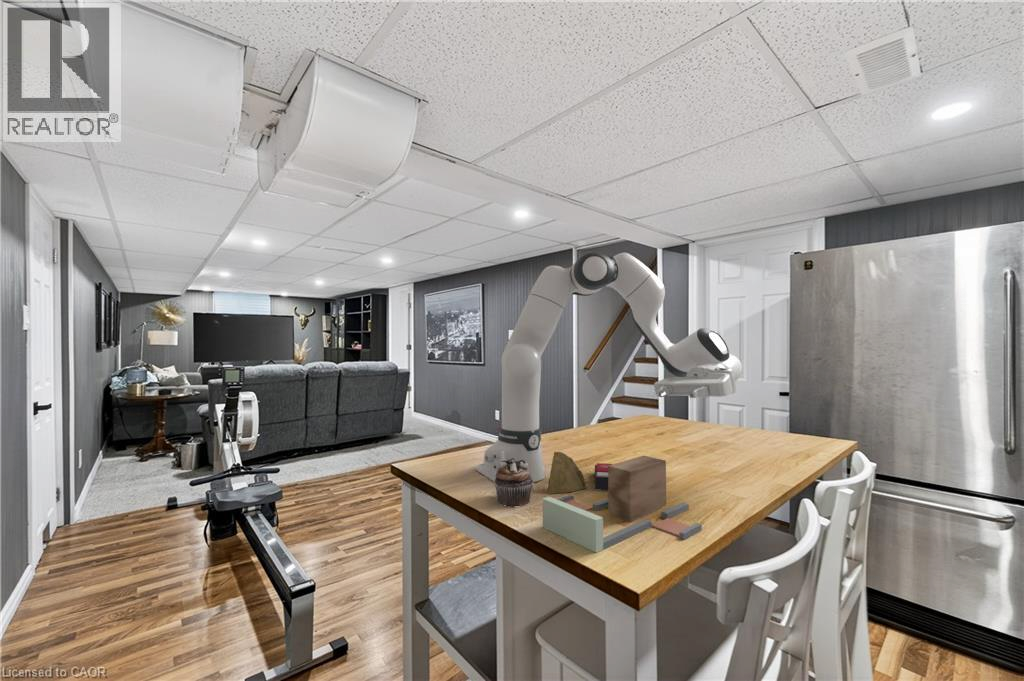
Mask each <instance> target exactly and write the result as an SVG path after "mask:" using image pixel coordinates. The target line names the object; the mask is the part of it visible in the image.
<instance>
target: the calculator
mask: <svg viewBox="0 0 1024 681" xmlns="http://www.w3.org/2000/svg"><path fill="white" fill-rule="evenodd" d="M609 465H613V463H605V462H604V463H603V462H602V463H599V462H597V463H596V464H594V482H595V483H594V489H595V490H596V489H601V490H600V491H608V466H609Z"/></svg>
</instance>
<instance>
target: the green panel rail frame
mask: <svg viewBox="0 0 1024 681" xmlns="http://www.w3.org/2000/svg"><path fill="white" fill-rule="evenodd" d="M541 501H542V528H544V529H546V530H548V531H550V532H552V533H554V534H556V535H558V536H560V537H562V538H564V539H567V540H569V541H570V542H573V543H575V544H577V545H578V546H581V547H583V548H584V549H587V550H589V551H591V552H594V553H595V554H596V553H599V552H601V551H603V550H605V549H609V548H610V547H612V546H614V545H616V544H618V543H620V542H622V541H625V540H626V539H629V538H630V537H633V536H635V535H637V534H640V533H642V532H643V531H645V530H648V529H650V528H654V529H657V530H660V531H663V532H665V533H668V534H670V535H673V536H676V537H678V538H679V539H680V540H683V539H685V540H686V539H688V538H690V537H691V536H693V535H696V534H697V533H699V532H701V531H702V530H703V527H702V526H703V525H702V523H699V522H696V523H694V524H691V525H689V524H687V523H683V522H681V521H678V520H675V519H672V518H674V517H675V515H676V516H678V515H680V514H682V513H684V512H685V511H688V510H690V509H689V507H690V505H689V503H687V502H684V501H683V502H680V503H678V504H676V505H673V506H671V507H668V508H666V509H665V510H662V511H661V512H660V516H661V518H662V519H663V520H660V521H658V522H656V523H653V521H652V520H650V519H648V518H644V519H642V520H640V521H638V522H637V521H636V522H635V523H633V524H631V525H628V526H627V527H624V528H621V529H619V530H617V531H615V532H613V533H610V534H608V535H606V536H604V516H603V517H602V516H600V515H597V514H596V513H593V512H590V510H595V511H600V510H603V509H605V508H608V498H604V499H601V500H599V501H595V502H593V503H592V506H590V505H587V504H585V503H581V502H579V501H576V500H574V495H573V494H569V495H564V496H562V497H559V498H554V497H551V496H546V497H543V498H542V500H541ZM683 511H684V512H683ZM681 512H682V513H681ZM679 513H680V514H679ZM677 514H678V515H677ZM665 518H666V519H665Z"/></svg>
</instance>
